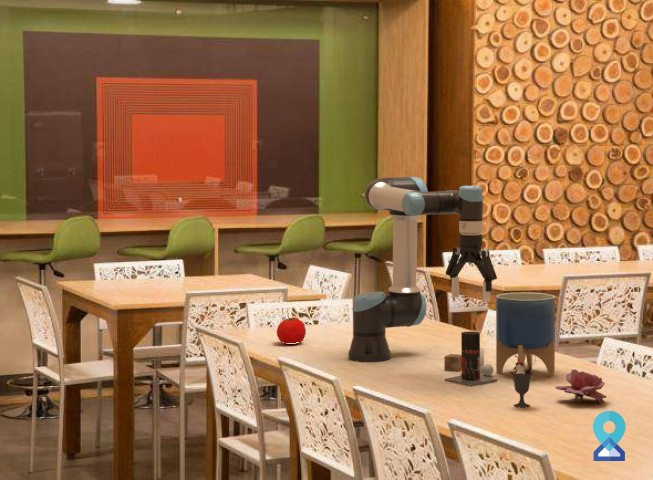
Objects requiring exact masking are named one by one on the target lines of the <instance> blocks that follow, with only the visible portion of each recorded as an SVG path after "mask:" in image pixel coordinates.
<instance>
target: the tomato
mask: <svg viewBox="0 0 653 480" xmlns="http://www.w3.org/2000/svg"><path fill="white" fill-rule="evenodd" d="M287 317H288V318H285V319H284V320H282V321H280V323H279V324H278V326H277V329H276V336H277V338H278V340H279V341H280V342H281V343H282V342H284V343H296V342H300V343H302V342H304V340H305V338H306V335H307V334H306V333H307V332H306V331H307V330H306V326H305V323H304V322H303V321H302V320H300V319H299V317H298V318H297V317H296V318H291V317H290V316H287ZM284 343H283V344H284Z"/></svg>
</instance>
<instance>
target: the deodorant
mask: <svg viewBox="0 0 653 480" xmlns="http://www.w3.org/2000/svg"><path fill="white" fill-rule="evenodd" d="M460 334H461V336H460V337H461V339H460V340H461V341H460V342H461V345H460V346H461V351H460V352H461V355H462V370H461V375H462V379H463V380H479V379H480V376H481V375H480V348H481V332H478V331H462V332H461V333H460Z"/></svg>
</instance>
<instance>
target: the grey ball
mask: <svg viewBox="0 0 653 480" xmlns="http://www.w3.org/2000/svg"><path fill="white" fill-rule="evenodd" d="M481 372H482V374H481V375H482V376H485V377H491V376H492V375H493V373H494V367H493V366H492V365H491V364H489V363H484V365H483V366H482V368H481Z"/></svg>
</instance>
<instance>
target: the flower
mask: <svg viewBox="0 0 653 480" xmlns="http://www.w3.org/2000/svg"><path fill="white" fill-rule="evenodd" d="M565 379H566V382H567V383H569V384H570V385H557V386H555V387H554V388H555V389H556V390H559V391H563V392H564V393H567V394H573V395H574V399H575V400H576V399H578V398H580V401H581V402H583V398H584V397H588V398H592V399H595V400H598V403H599V405H600V404H602V402H603V401H604V402H605V400H604V398H605V399H607V395H606V394H603V393H601V392H599V391H598V390H601V389H602V388H603V387H604V386H605V384H606V382H604V381H603V379H602V377H599V376H597V375H595V374H591V373H589V372H585V371H578V370H577V369H571V370H570V373H567V374H566V376H565Z"/></svg>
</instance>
